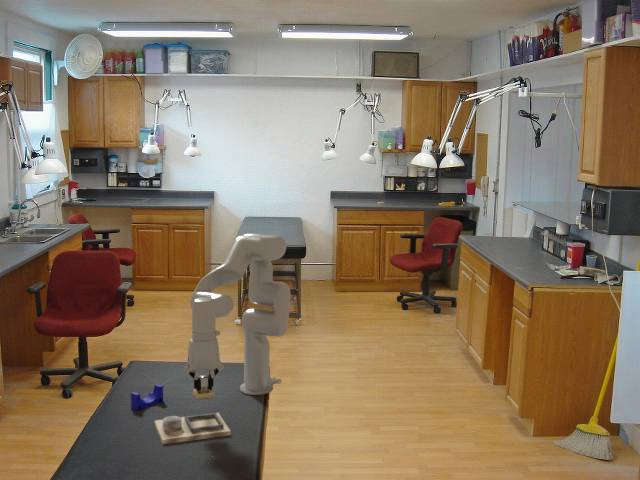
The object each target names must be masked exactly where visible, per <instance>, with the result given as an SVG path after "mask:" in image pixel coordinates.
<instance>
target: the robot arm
mask: <svg viewBox="0 0 640 480" xmlns="http://www.w3.org/2000/svg"><path fill="white" fill-rule="evenodd" d="M286 250H287V242H286V239H285V238H284V236H282V235H277V234H265V233H254V232H252V233H251V232H250V233H245V234H243V235H239V236H237V237H235V239H233V242H232V243H231V245H230V247H229V249H228V250H227V253H226V255H225V257H224V259H223V260H222V263H221V265H220V266H219V267H217V268H215V269H213V270H211V271H210V272H209V273H207V274H205V275H204V276H203V277H202V278H201V279H200V280H199V282H198V283H197V286H196V287H195V289H194V290H193V292H192V295H191V299H190V309H191V326H192V327H191V338H190V339H189V341H188V348H187V356H186V357H187V358H186V363H185V366H184V367H183V369H182V371H183V373H184V374H186V375H189V376H190V377H191V378H192V379H193V388H194V389H196V390H197V392H199V391H200V380H199V378H198V376H200V375H199V374H200V372H201V371H208V376H209V390H212V389H213V387H214V379H215V378H216V375H218V374H219V372H221V371H222V370H224V368H225V366H224V365H223V363H222V361H221V360H220V359H221V358H220V355H221V354H220V347H219V346H220V345H219V342H218V338H217V336H220V335H221V334H220V333H221V332H220V331H219V330H216V319H217V318H224V317H226V316H229V315H230V314H231V313H232V311H233V309H234V305H235V304H234V299H233V298H232V297H231V296H230V295H228V294H226V293H220V292H218V293H217V292H212V291H214V290H215V289H217V288H219V287H223V286H225V285H229V284H233V283H236V282H238V281H240V280H241V279H243V277H244V275H245V273H246V272H247V269H248V267H249V268H250V270H249V271H250V273H249V283H248V301H249V302H250V303H251V304H253V305H258V306H265V307H272V308H273V310H272V309H266V308H261V307H260V308H258V307H251V308H248V309H246V310H245V311H244V312H243V313H242V317H241V327H242V331H243V339H244V341H243V342H244V345H243V346H244V347H243V348H244V351H243V353H244V354H243V357H244V358H243V361H244V362H243V363H244V365H243V378H244V379H243V383H241V384H240V386H239V390H240V392H242V393H243V394H245V395H249V396H263V395H267V394H270V393H271V392H273V390H274V384H276V385H278V384H282V379H281V378H276V377H275V376H274V377H270V342H269V339H268V337H267V336H270V337H276V338H279V337H283V336H285V335H286V333H287V331H288V328H289V318H290V309H291V289H290V286H289V285H288V284H287V283H286V282H283V281H276V280H273V279H274V278H273V274H274V266H273V263H272V262H273V261H275V260H280V259H281V258H282V257H283V256H284V255H285V253H286Z"/></svg>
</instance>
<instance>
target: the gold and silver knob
mask: <svg viewBox="0 0 640 480" xmlns="http://www.w3.org/2000/svg"><path fill="white" fill-rule="evenodd" d="M198 378H199V380H200V391H199V392H197V390H196V388H194V389H193V391H192V397H193V398H194V399H196V400H209V399H210V400H211V399H213V398H214V397H215V390H214V388H212V390H209V374H208V375H207V374H200V375H198Z"/></svg>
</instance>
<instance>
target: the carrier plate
mask: <svg viewBox="0 0 640 480" xmlns="http://www.w3.org/2000/svg"><path fill="white" fill-rule="evenodd" d="M153 424H154V428H155V431H156V432H157V434H158V437H159V439H160V442H161V443H162V445H167V444H168V445H169V444H175V443H184V442H189V441H190V442H191V441H196V440H197V441H198V440H204V439H211V438H219V437H226V436H228V437H229V436H231V435H232V433H231V432H232V430H231V429H230V428H229V426H228V425H227V423H226V422H225V420H224V418H223V417H222V416H221V414H220V412H213V413H203V414H197V415H196V414H195V415H188V416H179V415H178V416H177V415H169V416H166V417H164V418H163V419H156V420H154V421H153Z"/></svg>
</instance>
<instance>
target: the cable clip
mask: <svg viewBox="0 0 640 480" xmlns="http://www.w3.org/2000/svg"><path fill="white" fill-rule="evenodd" d="M153 386H154V387H153V391H151V392H148V394H147V396H145V397H144V398H141V393H139V392H137V391H133V392H131V393H130V406H131V407H130V408H131V410H134V411H141V410H144V409H145V408H149V407H151V406H154V405H156V404H157V405H158V404H160V403H162V402H164V385H162V384H159V383H155V384H154V385H153Z"/></svg>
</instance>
